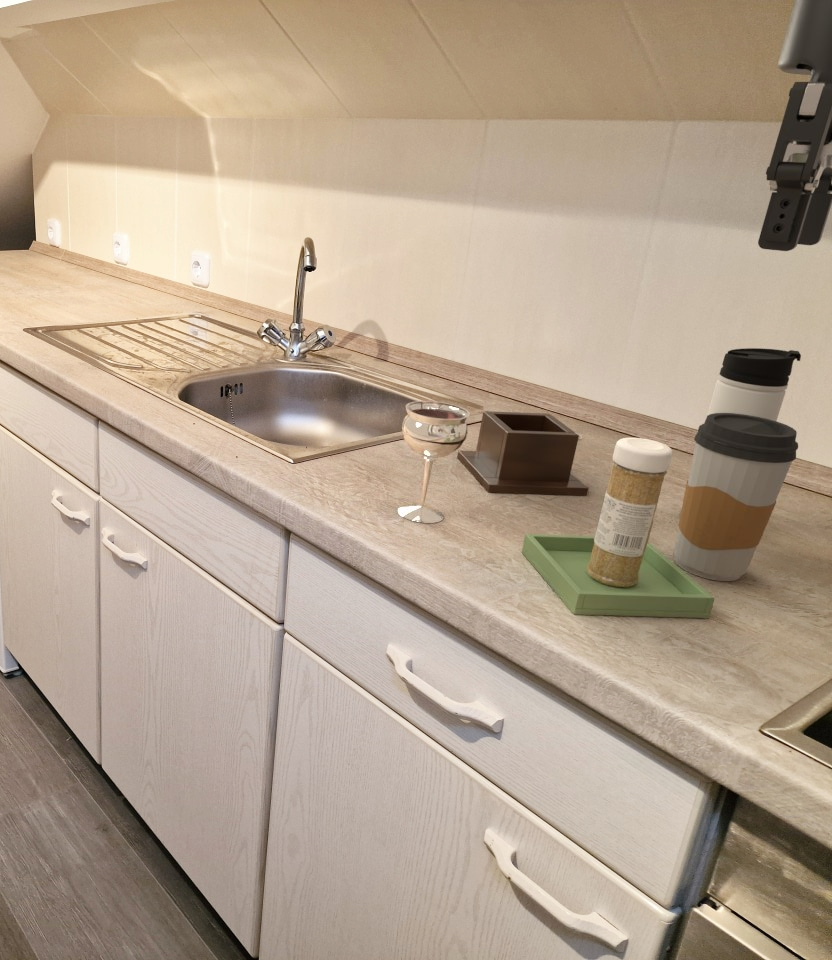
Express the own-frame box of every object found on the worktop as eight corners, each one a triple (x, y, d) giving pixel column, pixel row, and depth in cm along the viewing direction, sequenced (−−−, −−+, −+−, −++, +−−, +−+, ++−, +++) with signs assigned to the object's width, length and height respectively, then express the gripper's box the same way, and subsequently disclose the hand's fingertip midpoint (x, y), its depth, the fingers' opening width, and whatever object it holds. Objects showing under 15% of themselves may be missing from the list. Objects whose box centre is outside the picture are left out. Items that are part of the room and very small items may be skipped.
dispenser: (546, 460, 113) (557, 410, 110) (587, 495, 102) (600, 440, 99) (456, 457, 112) (465, 406, 110) (488, 492, 101) (498, 436, 99)
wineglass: (378, 503, 96) (393, 401, 92) (431, 499, 98) (448, 399, 94) (409, 528, 90) (425, 421, 86) (464, 524, 92) (483, 418, 88)
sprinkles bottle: (639, 575, 81) (675, 442, 76) (634, 594, 78) (672, 456, 73) (588, 562, 84) (620, 432, 79) (581, 580, 80) (614, 445, 75)
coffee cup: (771, 574, 84) (819, 430, 79) (732, 595, 80) (780, 444, 74) (686, 542, 90) (725, 406, 85) (645, 560, 86) (683, 418, 80)
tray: (639, 556, 87) (644, 537, 86) (708, 618, 75) (715, 597, 75) (521, 552, 86) (525, 533, 86) (573, 614, 75) (578, 593, 74)
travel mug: (746, 540, 91) (804, 358, 84) (677, 525, 94) (728, 348, 87) (744, 521, 97) (799, 347, 89) (679, 507, 99) (727, 338, 92)
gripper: (925, -33, 48) (833, 259, 54) (947, 3, 58) (866, 247, 64) (773, -21, 53) (704, 246, 59) (817, 10, 63) (753, 237, 69)
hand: (788, 246), depth 62 cm, fingers open, 8 cm apart
